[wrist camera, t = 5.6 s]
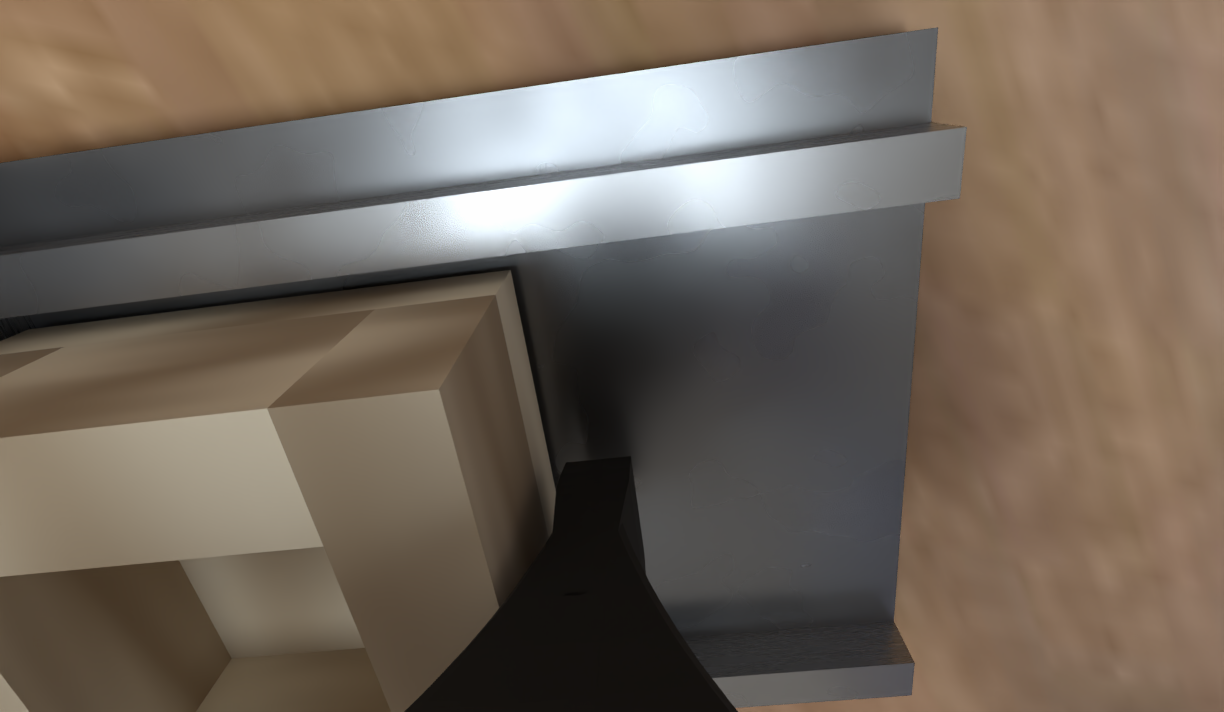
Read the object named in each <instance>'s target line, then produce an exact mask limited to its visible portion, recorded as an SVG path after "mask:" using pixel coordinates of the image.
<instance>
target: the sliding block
mask: <svg viewBox="0 0 1224 712" xmlns="http://www.w3.org/2000/svg"><path fill="white" fill-rule="evenodd" d="M555 497H556V490H555V485H554V480H553V475H552V470H551V465H550V460H549V455H548V450H547V446H546V441H545V436H544V431H543V426H542V421H541V416H540V411H539V406H538V402H537V397H536V392H535V387H534V382H533V377H532V372H531V367H530V362H529V358H528V353H527V348H526V343H525V338H524V333H523V328H522V323H521V318H520V314H519V309H518V304H517V299H516V294H515V289H514V284H513V279H512V274H511V270H505V271H497V272H489V273H481V274H472V275H464V276H456V277H448V278H440V279H432V280H424V281H416V282H408V283H400V284H392V285H384V286H375V287H367V288H359V289H351V290H343V291H335V292H327V293H319V294H311V295H303V296H295V297H286V298H278V299H270V300H262V301H254V302H246V303H238V304H230V305H222V306H214V307H206V308H197V309H189V310H181V311H173V312H165V313H157V314H149V315H141V316H133V317H125V318H117V319H109V320H100V321H92V322H84V323H76V324H68V325H60V326H52V327H44V328H36V329H28V330H26V331H23V332H21V333H19V334H16V335H14V336H11V337H9V338H7V339H4V340H2V341H0V712H404V711H405V710H406V709H407V708H408V707H409V706H410V705H411V704H412V703H414V702H415V701H416V700H417V699H418V698H419V697H420V696H421V695H422V694H423V693H424V692H425V691H426V690H427V689H428V688H429V687H430V685H431V684H432V683H433V682H434V681H435V680H436V679H437V678H438V677H439V676H440V675H441V674H442V673H443V672H444V671H445V670H446V669H447V667H448V666H449V665H450V664H451V663H452V662H453V661H454V660H455V659H456V658H457V657H458V656H459V655H460V653H461V652H462V651H463V650H464V649H465V648H466V647H467V646H468V645H469V644H470V642H471V641H472V640H473V639H474V638H475V637H476V635H477V634H478V633H479V632H480V631H481V630H482V628H483V627H484V626H485V625H486V624H487V622H488V621H489V620H490V619H491V618H492V616H493V615H494V614H495V613H496V611H497V610H498V609H499V608H500V606H501V605H502V604H503V603H504V601H505V600H506V599H507V597H508V596H509V595H510V593H511V592H512V591H513V589H514V588H515V587H516V585H517V584H518V582H519V581H520V580H521V578H522V577H523V575H524V574H525V572H526V571H527V570H528V568H529V567H530V565H531V564H532V563H533V561H534V560H535V558H536V557H537V555H538V554H539V553H540V551H541V549H542V548H543V546H544V545H545V543H546V542H547V540H548V538H549V537H550V535H551V533H552V532H553V520H554V508H555Z"/></svg>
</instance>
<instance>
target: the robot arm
mask: <svg viewBox="0 0 1224 712" xmlns="http://www.w3.org/2000/svg"><path fill="white" fill-rule="evenodd" d="M404 712H738V711H737V710H736V709H735V707H734V706H733V705H732V703H731V702H730V701H729V700H728V698H727V697H726V696H725V694H724V693H723V692H722V690H721V689H720V688H719V687H718V685H717V684H716V683H715V681H714V680H713V679H712V677H711V676H710V675H709V673H708V672H707V671H706V670H705V668H704V667H703V666H702V664H701V663H700V662H699V660H698V659H697V657H696V656H695V654H694V653H693V651H692V650H691V648H690V647H689V646H688V644H687V643H686V641H685V640H684V638H683V637H682V635H681V634H680V632H679V631H678V629H677V628H676V626H675V624H674V623H673V621H672V619H671V618H670V616H669V615H668V613H667V611H666V610H665V608H664V607H663V605H662V603H661V601H660V600H659V598H658V596H657V594H656V593H655V591H654V589H653V587H652V585H651V584H650V582H649V580H648V578H647V576H646V569H645V554H644V547H643V539H642V532H641V525H640V518H639V511H638V503H637V496H636V489H635V482H634V475H633V467H632V460H631V456H627V457H616V458H606V459H596V460H586V461H576V462H566V463H565V466H564V468H563V470H562V472H561V475H560V478H559V481H558V484H557V487H556V497H555V508H554V520H553V532H552V533H551V535H550V537H549V538H548V540H547V542H546V543H545V545H544V546H543V548H542V549H541V551H540V553H539V554H538V555H537V557H536V558H535V560H534V561H533V563H532V564H531V565H530V567H529V568H528V570H527V571H526V572H525V574H524V575H523V577H522V578H521V580H520V581H519V582H518V584H517V585H516V587H515V588H514V589H513V591H512V592H511V593H510V595H509V596H508V597H507V599H506V600H505V601H504V603H503V604H502V605H501V606H500V608H499V609H498V610H497V611H496V613H495V614H494V615H493V616H492V618H491V619H490V620H489V621H488V622H487V624H486V625H485V626H484V627H483V628H482V630H481V631H480V632H479V633H478V634H477V635H476V637H475V638H474V639H473V640H472V641H471V642H470V644H469V645H468V646H467V647H466V648H465V649H464V650H463V651H462V652H461V653H460V655H459V656H458V657H457V658H456V659H455V660H454V661H453V662H452V663H451V664H450V665H449V666H448V667H447V669H446V670H445V671H444V672H443V673H442V674H441V675H440V676H439V677H438V678H437V679H436V680H435V681H434V682H433V683H432V684H431V685H430V687H429V688H428V689H427V690H426V691H425V692H424V693H423V694H422V695H421V696H420V697H419V698H418V699H417V700H416V701H415V702H414V703H412V704H411V705H410V706H409V707H408V708H407V709H406V710H405V711H404Z"/></svg>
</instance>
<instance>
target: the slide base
mask: <svg viewBox="0 0 1224 712" xmlns="http://www.w3.org/2000/svg"><path fill="white" fill-rule="evenodd" d="M937 35H938V28H931V29H924V30H917V31H911V32H904V33H897V34H890V35H883V36H876V37H869V38H862V39H855V40H848V41H841V42H834V43H828V44H821V45H814V46H807V47H800V48H793V49H786V50H779V51H772V52H765V53H758V54H751V55H744V56H738V57H731V58H724V59H717V60H710V61H703V62H696V63H689V64H682V65H675V66H668V67H661V68H655V69H648V70H641V71H634V72H627V73H620V74H613V75H606V76H599V77H592V78H585V79H578V80H572V81H565V82H558V83H551V84H544V85H537V86H530V87H523V88H516V89H509V90H502V91H495V92H489V93H482V94H475V95H468V96H461V97H454V98H447V99H440V100H433V101H426V102H419V103H412V104H406V105H399V106H392V107H385V108H378V109H371V110H364V111H357V112H350V113H343V114H336V115H329V116H323V117H316V118H309V119H302V120H295V121H288V122H281V123H274V124H267V125H260V126H253V127H246V128H240V129H233V130H226V131H219V132H212V133H205V134H198V135H191V136H184V137H177V138H170V139H163V140H156V141H150V142H143V143H136V144H129V145H122V146H115V147H108V148H101V149H94V150H87V151H80V152H73V153H67V154H60V155H53V156H46V157H39V158H32V159H25V160H18V161H11V162H4V163H0V341H2V340H4V339H7V338H9V337H11V336H14V335H16V334H19V333H21V332H23V331H26V330H28V329H36V328H44V327H52V326H60V325H68V324H76V323H84V322H92V321H100V320H109V319H117V318H125V317H133V316H141V315H149V314H157V313H165V312H173V311H181V310H189V309H197V308H206V307H214V306H222V305H230V304H238V303H246V302H254V301H262V300H270V299H278V298H286V297H295V296H303V295H311V294H319V293H327V292H335V291H343V290H351V289H359V288H367V287H375V286H384V285H392V284H400V283H408V282H416V281H424V280H432V279H440V278H448V277H456V276H464V275H472V274H481V273H489V272H497V271H505V270H511V274H512V279H513V284H514V289H515V294H516V299H517V304H518V309H519V314H520V318H521V323H522V328H523V333H524V338H525V343H526V348H527V353H528V358H529V362H530V367H531V372H532V377H533V382H534V387H535V392H536V397H537V402H538V406H539V411H540V416H541V421H542V426H543V431H544V436H545V441H546V446H547V450H548V455H549V460H550V465H551V470H552V475H553V480H554V485H555V490H556V487H557V484H558V481H559V478H560V475H561V472H562V470H563V468H564V466H565V463H566V462H576V461H586V460H596V459H606V458H616V457H627V456H631V460H632V467H633V475H634V482H635V489H636V496H637V503H638V511H639V518H640V525H641V532H642V539H643V547H644V554H645V569H646V576H647V578H648V580H649V582H650V584H651V585H652V587H653V589H654V591H655V593H656V594H657V596H658V598H659V600H660V601H661V603H662V605H663V607H664V608H665V610H666V611H667V613H668V615H669V616H670V618H671V619H672V621H673V623H674V624H675V626H676V628H677V629H678V631H679V632H680V634H681V635H682V637H683V638H684V640H685V641H686V643H687V644H688V646H689V647H690V648H691V650H692V651H693V653H694V654H695V656H696V657H697V659H698V660H699V662H700V663H701V664H702V666H703V667H704V668H705V670H706V671H707V672H708V673H709V675H710V676H711V677H712V679H713V680H714V681H715V683H716V684H717V685H718V687H719V688H720V689H721V690H722V692H723V693H724V694H725V696H726V697H727V698H728V700H729V701H730V702H731V703H732V705H733V706H734V707H735V708H739V707H753V706H767V705H781V704H795V703H810V702H824V701H838V700H852V699H866V698H880V697H894V696H908V695H912V684H913V674H914V664H915V663H914V661H913V659H912V657H911V655H910V653H909V651H908V649H907V647H906V645H905V643H904V641H903V639H902V637H901V635H900V633H899V631H898V629H897V627H896V625H895V623H894V610H895V597H896V583H897V570H898V556H899V543H900V530H901V516H902V503H903V490H904V476H905V463H906V449H907V436H908V423H909V409H910V396H911V383H912V369H913V356H914V343H915V329H916V316H917V302H918V289H919V276H920V262H921V249H922V236H923V222H924V209H925V203H927V202H935V201H943V200H951V199H959V198H960V191H961V180H962V170H963V160H964V149H965V139H966V129H967V127H963V126H955V125H948V124H941V123H934V122H931V115H932V102H933V89H934V75H935V62H936V48H937Z"/></svg>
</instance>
